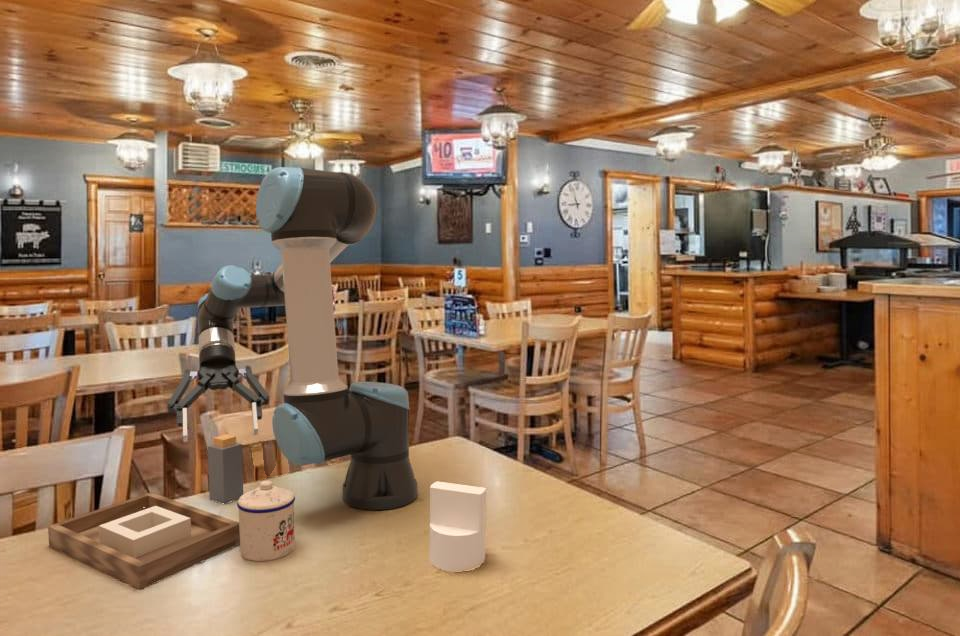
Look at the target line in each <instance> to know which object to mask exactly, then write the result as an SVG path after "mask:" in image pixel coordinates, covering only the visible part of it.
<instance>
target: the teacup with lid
mask: <svg viewBox="0 0 960 636" xmlns="http://www.w3.org/2000/svg"><path fill="white" fill-rule="evenodd" d="M295 501H296V496H295V494H294V492H293V491H292V490H290V489H288V488H285V487H280V486H278V485H273V482H272V481H271V480H263V481H260V483H259V486H257V487H256V488H253V490H249V491H247V492H245V493H243V495H242V496H241V497H240V498H239V499H238V500H237V503H236V506H237V508H238V519H239V521H238V522H239V529H240V544H239V553H240V555H241V556H242V557H243V558H245V559H246V560H249V561H253V562H267V561H273V560H277V559H280V558H283V557H285V556H287V555H288V554H289V553H291V552H292V551H293V550H294V547H295V546H296V545H295V544H296V543H295V540H296V539H295V505H294V504H295V503H294V502H295Z"/></svg>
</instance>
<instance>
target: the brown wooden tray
mask: <svg viewBox="0 0 960 636" xmlns="http://www.w3.org/2000/svg"><path fill="white" fill-rule="evenodd" d="M153 506H158V507H161V508H164V509H166V510H169V511H172V512H175V513H178V514H180V515H183V516H186V517H189V518H191V535H190V536H188V537H185V538H183V539H180V540H178V541H175V542H173V543H171V544H168V545H166V546H163V547H161V548H158V549H156V550H153V551H151V552H149V553H146V554H144V555H141V556H139V557H136V558H133V557H130V556H128V555H126V554H124V553H121V552H119V551H117V550H115V549H112V548H110V547H108V546H106V545H103V544H101V543H100V542H99V525H102V524H105V523H108V522H110V521H113V520H116V519H119V518H122V517H125V516H128V515H130V514H133V513H136V512H139V511H142V510H145V509H148V508H151V507H153ZM143 507H145V508H143ZM47 533H48V534H47V535H48V547H50V548H52V549H54V550H57V551H58V552H61V553H63V554H64V555H67V556H69V557H71V558H73V559H75V560H77V561H79V562H82V563H83V564H85V565H87V566H90V567H92V568H93V569H96V570H98V571H100V572H102V573H104V574H106V575H108V576H110V577H112V578H115V579H116V580H118V581H121V582H123V583H125V584H127V585H129V586H131V587H133V588H136V589H137V590H140V591H141V590H142V589H144V588H146V587H149V586H150V585H153V584H156V583H157V581H158V582H160V581H162V580H165V579H166V578H168V576H169V577H171V576H173V575H175V574H177V573H179V572H181V571H184V570H185V569H188V568H190V567H192V566H195V565H197V564H199V563H202V562H204V561H206V560H208V559H210V558H212V557H214V556H216V555H219V554H221V553H223V552H225V551H228V550H230V549H232V548H234V547H237V546H240V529H239V521H237V520H233V519H230V518H227V517H224V516H222V515H218V514H215V513H212V512H209V511H207V510H203V509H201V508H198V507H195V506H192V505H189V504H187V503H183V502H180V501H179V500H174V499H171V498H169V497H166V496H163V495H160V494H156V493H154V492H151V491H150V492H148V493H145V494H142V495H139V496H135V497H132V498H129V499H126V500H124V501H120V502H117V503H115V504H110V505H108V506H105V507H103V508H98V509H95V510H93V511H89V512H87V513H84V514H83V513H82V514H80V515H78V516H75V517H71V518H69V519H65V520H63V521H60V522H56V523H53V524H50V525H48V526H47ZM159 580H160V581H159Z"/></svg>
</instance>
